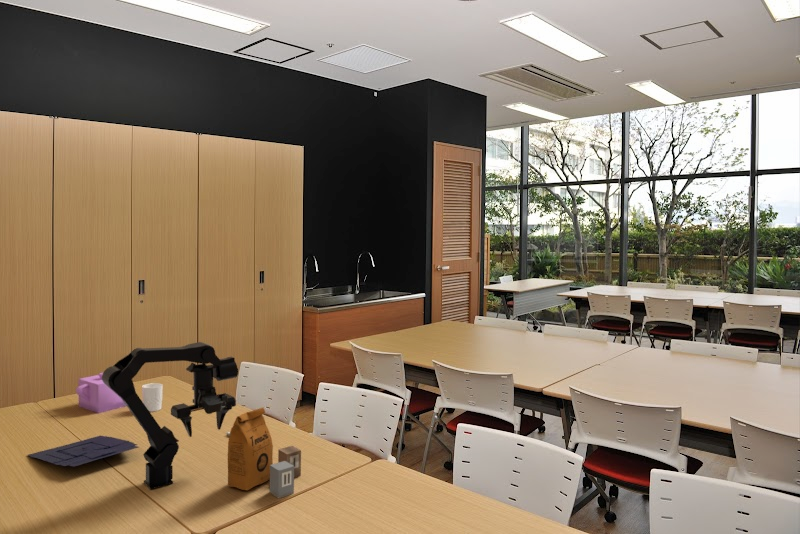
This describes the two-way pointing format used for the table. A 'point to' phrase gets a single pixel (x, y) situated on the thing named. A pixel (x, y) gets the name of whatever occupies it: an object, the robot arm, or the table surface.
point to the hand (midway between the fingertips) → (204, 432)
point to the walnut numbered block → (291, 458)
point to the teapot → (97, 395)
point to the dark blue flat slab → (84, 451)
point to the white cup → (152, 396)
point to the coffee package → (249, 451)
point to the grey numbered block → (281, 479)
